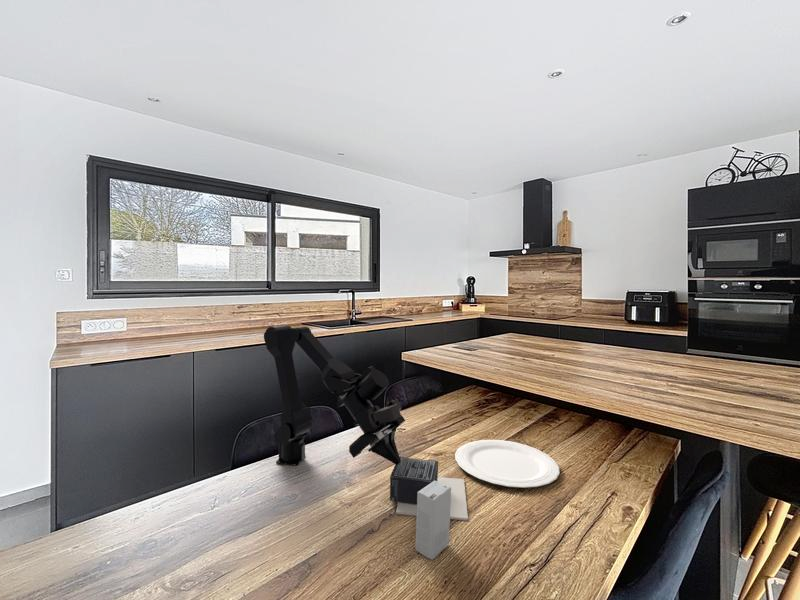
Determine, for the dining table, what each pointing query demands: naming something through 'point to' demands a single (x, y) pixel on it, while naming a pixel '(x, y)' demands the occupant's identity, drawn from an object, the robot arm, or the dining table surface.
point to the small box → (411, 478)
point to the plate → (507, 463)
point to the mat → (457, 500)
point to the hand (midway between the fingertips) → (399, 463)
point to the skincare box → (433, 519)
